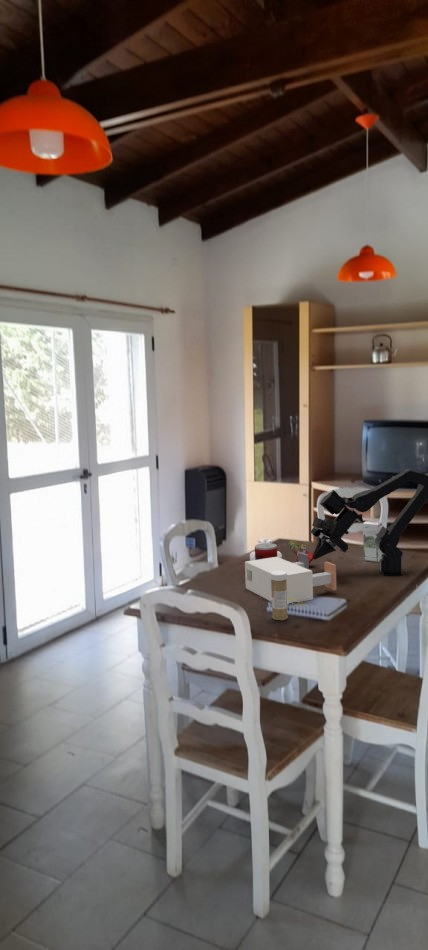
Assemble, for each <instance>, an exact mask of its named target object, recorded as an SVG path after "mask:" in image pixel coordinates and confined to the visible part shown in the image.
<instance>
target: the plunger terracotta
mask: <svg viewBox="0 0 428 950" xmlns="http://www.w3.org/2000/svg"><path fill="white" fill-rule="evenodd" d="M323 564H324V568H323V569H324V571H323V572H317V573H312V575H313V588H314V587H319V586H323V585H324V587H325V588H327V589H330V590H332V591H336V590H337V565H336V564H334V563H332V562H329V561H324V562H323Z"/></svg>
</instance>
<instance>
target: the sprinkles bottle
mask: <svg viewBox="0 0 428 950" xmlns="http://www.w3.org/2000/svg"><path fill="white" fill-rule="evenodd" d="M286 580H287V573H286V572H285V571H273V572H271V583H272V602H271V610H272V611H271V612H272V613H271V614H272V616H271V618H272V619H273V620H276V621H285V620H287V619H288V618H289V616H288V604H287V587H286Z"/></svg>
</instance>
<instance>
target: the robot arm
mask: <svg viewBox="0 0 428 950" xmlns="http://www.w3.org/2000/svg"><path fill="white" fill-rule="evenodd" d="M409 483H414V484H417V488H416V492H415V493H414V495H412V497H411V498H410V500H409V501H408V502H407V503H406V505H405V506H404V507H403V509H402V510H401V511H400V513H399V514H398V515H397V517H395V519H394V520H393V522H392V523H391V524H390V525H389V526H388V527H385V526H384V525H382V528H381V530H380V532H379V533H378V534H376V536H377V537H376V539H375V544H376V546H377V547H378V548H379V549H380V550H381V552H382V553H383V555H381V559H380V561H379V571H380V572H381V574H382V575H383V576H403V572H402V556H403V553H404V552H403V551H402V550H401V549H400V548H399V547H398V545H399V543H400V541H401V536H402V534H403V532H404V531H405V530H406V528H407V527H408V525H410V523H411V522H412V520H413V519H414V517H416V515H417V514H418V513H419V511H421V508H422V507H423V506H424V505H425V503H426V502H427V501H428V472H426V473H423V472H419V471H415V470H412V469H410V468H406V469H403V470H402V471H400V473H397V474H396V475H394V476H392V477H391V478H389V479H387V480H386V481H384V482H382V483H380V484H378V485H377V486H375V487H373V488H371V489H367V490H363V491H360V492H356V493H355V494H353V496H351V497H346V498H343V497H341V496H340V494H339V493H338V492H337V491H335V489H332V490H331V491H330V492H328V493H327V494H326V495H324V496H323V497H322V498H321V500H320V502H319V504H320V506H321V507H323V508H324V509H325V510H326V511H327V512H328V513H329V514H330V515H332V516H334V515H337V516H336V518H334V520H333V519H331V518H330V519H329V518H326V517H325V518H324V519H323V518H319V517H316V516H315V517H314V520H313V522H312V524H311V526H312V527H313V528H312V529H311V530H310V534H311V535H312V536H313V537H315V538H316V542H317V543H316V546H315V549H314V551H313V552H312V553H313V556H312V558H313V561H314V560H315V561H316V560H318V559H319V558H322V557H324V556H326V555H328V554H330V553H332V552H336V551H337V548H339V550H340V552H341V553H343V554H345V553H346V552H347V551H348V550H349V545H348V544H347V542H346V541H345V540H343V539H342V538H343V537H344V535H348V534H349V533H350V531H348V530H349V529H350V528H351V527H352V526H353V525H354V523H355V522H356V521H357V522H358V523H364V518H363V514H362V513H366V512H367V511H369V510H370V509H372V508H373V507H374V506H375V505H376V504H377V503H378V502H379V501H380V500H381V499H382V498H384V497H387V496H388V495H390V494H391V493H394V492H395V491H396V490H399V489H400V488H402V487H403V486H406V485H407V484H409ZM354 509H355V510H354ZM357 511H358V512H359V513H358V512H357Z"/></svg>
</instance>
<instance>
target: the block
mask: <svg viewBox="0 0 428 950" xmlns="http://www.w3.org/2000/svg"><path fill="white" fill-rule="evenodd" d="M244 570H245V571H244V574H245V576H244V577H245V580H244V581H245V589H247V590H248V591H250V592H252V593H254V594H256V595H258V596H259V597H261V598H263V599H265V600H267V601H269V602H271V603H272V583H271V572H273V571H285V572H286V573H287V580H286V587H287V599H293V598H300V597H306V596H312V597H307V598H301V599H296V600H291V601H290V602H297V603H301V602H306V601H312V600H314V587H313V575H312V574H313V570H311V569H310V568H309V569H306V568H304V567H301V566H299V565H296V564H294V562H292V561H288V560H286V559H283V558H282V559H281V558H279V557H272V558H265V559H259V560H252V561H250V560H247V561H244Z"/></svg>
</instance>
